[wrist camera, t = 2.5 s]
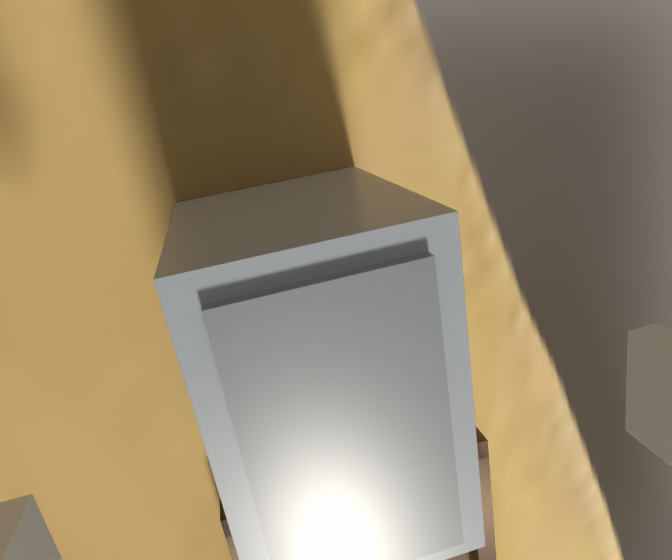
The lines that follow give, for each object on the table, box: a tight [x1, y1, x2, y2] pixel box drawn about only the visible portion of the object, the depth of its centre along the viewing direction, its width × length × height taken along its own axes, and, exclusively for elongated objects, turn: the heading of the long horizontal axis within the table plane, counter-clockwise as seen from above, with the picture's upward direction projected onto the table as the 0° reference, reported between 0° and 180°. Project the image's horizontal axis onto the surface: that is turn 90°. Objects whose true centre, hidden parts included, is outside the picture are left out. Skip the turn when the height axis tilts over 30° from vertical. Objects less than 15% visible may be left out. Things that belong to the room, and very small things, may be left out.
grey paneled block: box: [154, 166, 485, 560], centre depth 15 cm, size 9×6×8 cm, turn 9°
